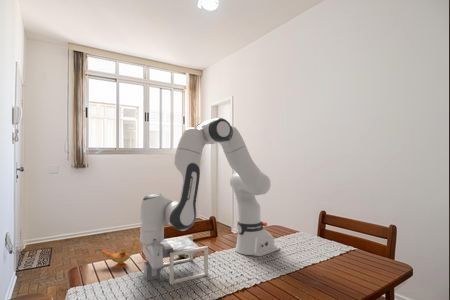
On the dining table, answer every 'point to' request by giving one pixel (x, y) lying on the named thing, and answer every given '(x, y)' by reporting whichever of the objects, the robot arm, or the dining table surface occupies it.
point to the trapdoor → (176, 245)
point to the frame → (186, 261)
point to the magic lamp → (118, 256)
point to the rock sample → (186, 255)
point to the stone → (148, 271)
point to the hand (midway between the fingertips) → (151, 271)
